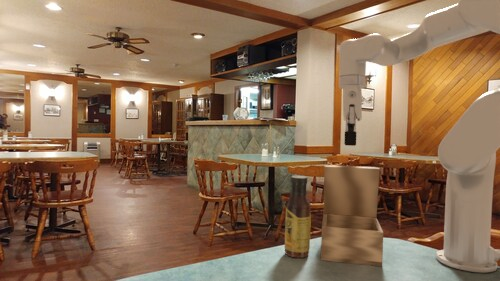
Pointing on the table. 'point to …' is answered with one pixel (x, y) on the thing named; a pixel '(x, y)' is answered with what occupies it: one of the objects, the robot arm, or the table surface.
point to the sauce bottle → (297, 219)
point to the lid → (351, 190)
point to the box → (352, 239)
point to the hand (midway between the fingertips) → (350, 144)
